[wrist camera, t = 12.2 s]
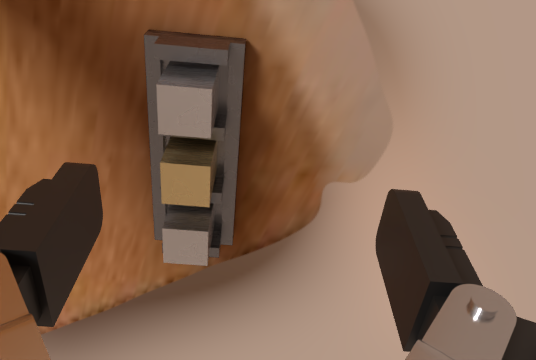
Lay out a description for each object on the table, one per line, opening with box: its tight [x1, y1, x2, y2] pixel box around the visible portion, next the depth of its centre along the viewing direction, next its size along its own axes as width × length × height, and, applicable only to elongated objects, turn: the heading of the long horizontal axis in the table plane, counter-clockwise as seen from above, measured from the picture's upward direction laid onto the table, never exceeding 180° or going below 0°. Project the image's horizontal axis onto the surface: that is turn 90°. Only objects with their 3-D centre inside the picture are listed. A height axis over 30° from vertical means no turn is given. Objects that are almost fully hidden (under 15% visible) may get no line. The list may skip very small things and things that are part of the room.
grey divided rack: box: [144, 30, 246, 266], centre depth 41 cm, size 8×21×7 cm, turn 175°
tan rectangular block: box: [160, 137, 218, 207], centre depth 41 cm, size 4×4×6 cm
